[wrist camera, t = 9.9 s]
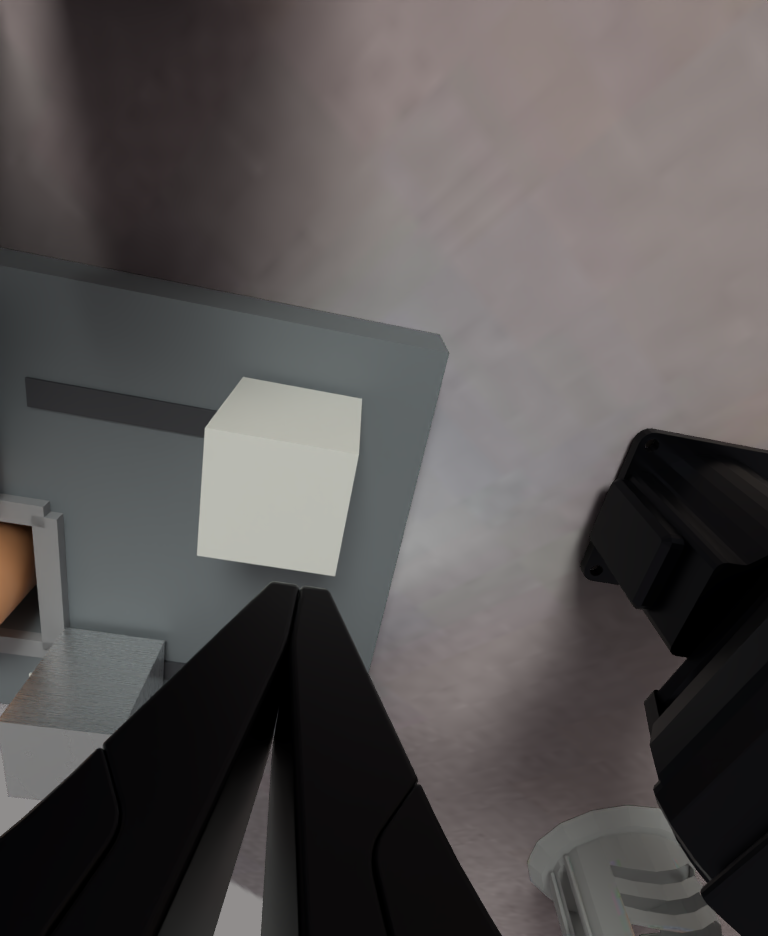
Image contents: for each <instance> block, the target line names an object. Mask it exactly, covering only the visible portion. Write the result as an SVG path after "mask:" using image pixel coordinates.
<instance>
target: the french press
mask: <svg viewBox="0 0 768 936" xmlns="http://www.w3.org/2000/svg"><path fill="white" fill-rule="evenodd" d="M527 864H528V870H529V876H530V881H531V882H532V883H533V884H534V885H535V886H536V887H537V888H538V889H539V890H540V891H541V892H542V893H543V894H544V895H545V896H547V897H548V898H549V899H551V900H552V901H554V905H555V909H556V913H557V917H558V921H559V924H560V928H561V932H562V936H635V935H634V932H633V929H632V926H631V925H633V924H634V925H639V926H643V927H648V928H652V929H659V930H660V932H661V933H651V934H642V935H639V936H723V935H722V931H721V924H720V922H719V920H718V917H717V915H716V913H715V911H714V910H713V909H711V908H710V907H709V906H708V905H707V904H706V902H705V901H704V899H703V897H702V895H700V893H699V892H700V891H701V888H702V887H703V886H702V884H701V882H700V881H699V880H698V879H697V878H696V877H695V869H694V866H693V865H692V863H691V862H690V861H689V859H688V858H687V856H686V854H685V853H684V851H683V850H682V848H681V847H680V845H679V843H678V842H677V840H676V838H675V836H674V833H673V831H672V829H671V827H670V826H669V824H668V822H667V820H666V818H665V816H664V814H663V813H662V811H661V809H660V808H650V807H640V806H630V805H626V806H619V807H613V808H606V809H600V810H593V811H590V812H587V813H585V814H582V815H580V816H577V817H575V818H573V819H570V820H568V821H565V822H563V823H560V824H559V825H558V826H556V827H555V828H554V829H553V830H551V831H550V832H549V833H548V834H546V835H545V836H544V837H543V838H542V839H540V840H539V841H538V842H537V843H536V845H535V847H534V849H533V851H532V853H531V855H530V857H529V859H528V862H527ZM713 922H714V923H713Z"/></svg>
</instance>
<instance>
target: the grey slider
mask: <svg viewBox="0 0 768 936" xmlns="http://www.w3.org/2000/svg"><path fill="white" fill-rule="evenodd" d="M164 646H165V641H164V640H157V639H150V638H142V637H135V636H127V635H120V634H112V633H105V632H97V631H90V630H82V629H75V628H68V627H65V629H64V630H63V631H62V633H61V634H60V636H59V637H58V638H57V640H56V641H55V642H54V644H53V645H52V647H51V648H50V649H49V651H48V652H47V653H46V655H45V656H44V658H43V659H42V660H41V662H40V663H39V664H38V666H37V667H36V669H35V670H34V671H33V673H32V674H31V675H30V677H29V678H28V680H27V681H26V682H25V684H24V685H23V686H22V688H21V689H20V691H19V692H18V693H17V695H16V696H15V697H14V699H13V700H12V702H11V703H10V704H9V706H8V707H7V709H6V710H5V711H4V713H3V714H2V715H1V717H0V745H1V752H2V759H3V765H4V772H5V779H6V786H7V792H8V797H16V798H26V799H35V800H43V799H44V798H45V797H46V796H47V795H48V794H49V793H51V792H52V791H53V790H54V789H55V788H56V787H57V786H58V785H59V784H60V783H61V782H63V781H64V780H65V779H66V778H67V777H68V776H69V775H70V774H71V773H72V772H73V771H74V770H75V769H76V768H77V767H78V766H79V765H80V764H81V763H82V762H84V761H85V760H86V759H87V758H88V757H89V756H90V755H91V754H92V753H93V752H94V751H95V750H96V749H97V748H102V749H103V743H104V742H105V741H106V740H107V739H108V738H109V737H110V736H111V735H112V734H113V733H114V732H115V731H116V730H117V729H118V728H119V727H120V726H121V725H122V724H123V723H124V722H125V721H127V720H128V719H129V718H130V717H131V716H132V715H133V714H134V713H135V712H136V711H137V710H138V709H139V708H140V707H141V706H142V705H143V704H144V703H145V702H146V701H147V700H148V699H149V698H150V697H151V696H153V695H154V694H155V693H156V692H157V691H158V690H159V689H160V688H161V687H162V686H163V674H164Z"/></svg>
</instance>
